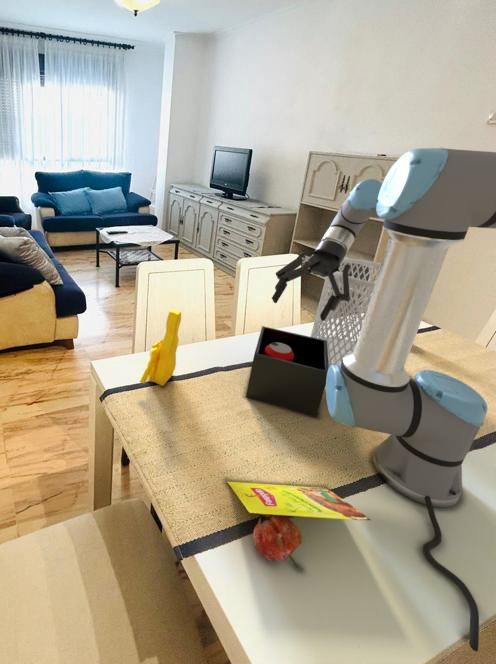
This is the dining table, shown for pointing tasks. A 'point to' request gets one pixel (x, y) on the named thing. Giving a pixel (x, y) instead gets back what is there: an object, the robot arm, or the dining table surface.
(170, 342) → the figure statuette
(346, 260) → the wastebasket
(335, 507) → the food package
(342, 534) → the dining table surface
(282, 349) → the soda can
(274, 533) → the pomegranate
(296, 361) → the bin
